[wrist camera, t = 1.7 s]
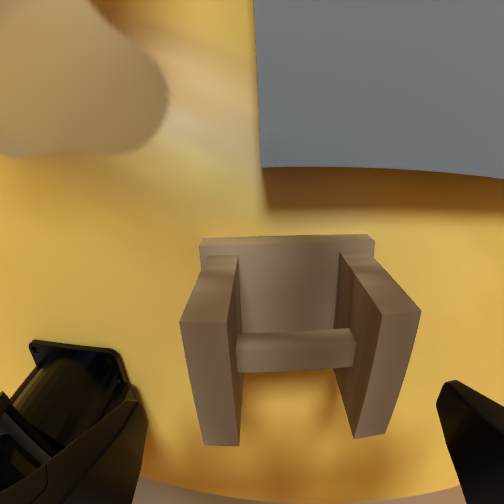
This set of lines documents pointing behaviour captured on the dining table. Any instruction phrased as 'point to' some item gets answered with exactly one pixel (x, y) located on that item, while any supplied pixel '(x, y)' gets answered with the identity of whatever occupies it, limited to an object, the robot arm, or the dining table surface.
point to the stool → (296, 325)
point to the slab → (382, 84)
